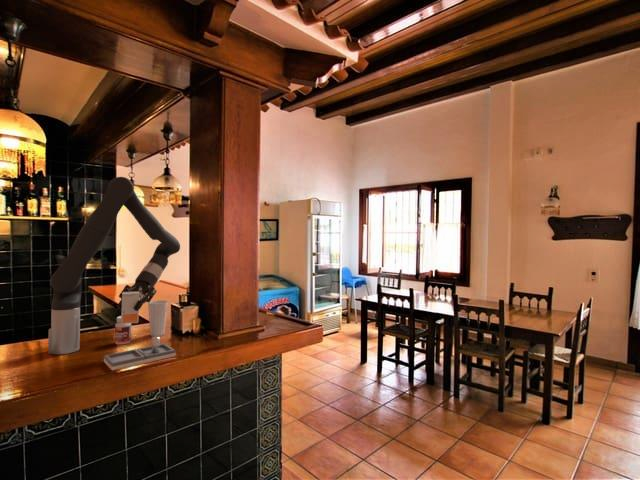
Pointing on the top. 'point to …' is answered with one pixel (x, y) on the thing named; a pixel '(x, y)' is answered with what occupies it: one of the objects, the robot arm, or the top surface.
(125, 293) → the skincare box
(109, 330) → the top surface
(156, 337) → the board
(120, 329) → the pill bottle
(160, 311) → the cup
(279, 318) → the top surface
